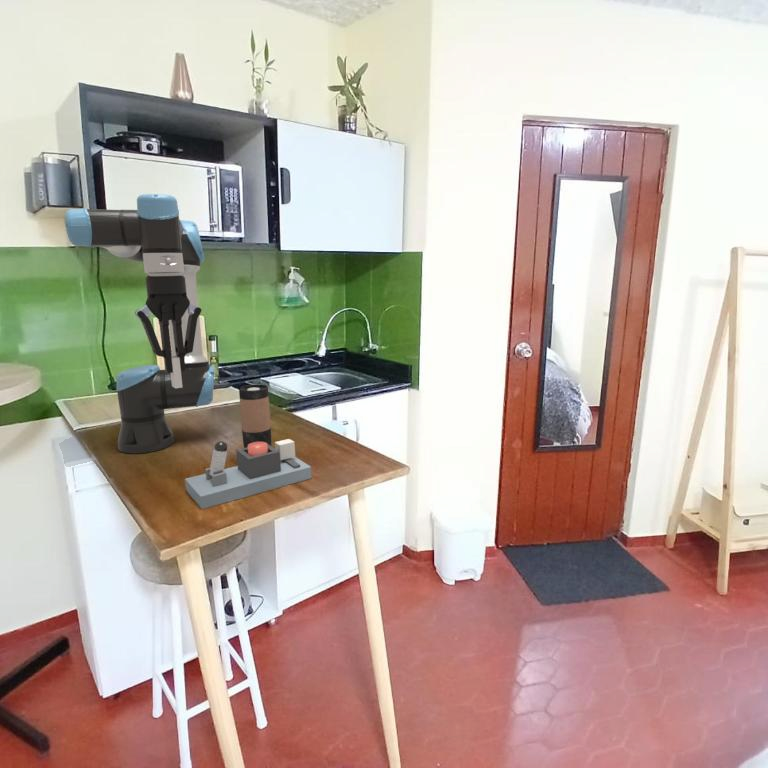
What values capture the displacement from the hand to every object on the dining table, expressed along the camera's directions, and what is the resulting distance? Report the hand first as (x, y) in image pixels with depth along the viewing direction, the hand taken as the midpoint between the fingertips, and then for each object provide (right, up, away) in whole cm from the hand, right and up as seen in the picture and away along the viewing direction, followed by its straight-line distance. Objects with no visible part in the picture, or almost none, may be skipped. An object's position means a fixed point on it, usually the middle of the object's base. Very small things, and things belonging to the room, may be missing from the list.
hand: (177, 386), depth 111 cm
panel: (+12, -24, +14) cm, 30 cm away
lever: (+6, -20, +8) cm, 23 cm away
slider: (+19, -18, +21) cm, 34 cm away
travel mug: (+10, -20, +31) cm, 38 cm away
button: (+14, -19, +14) cm, 28 cm away
